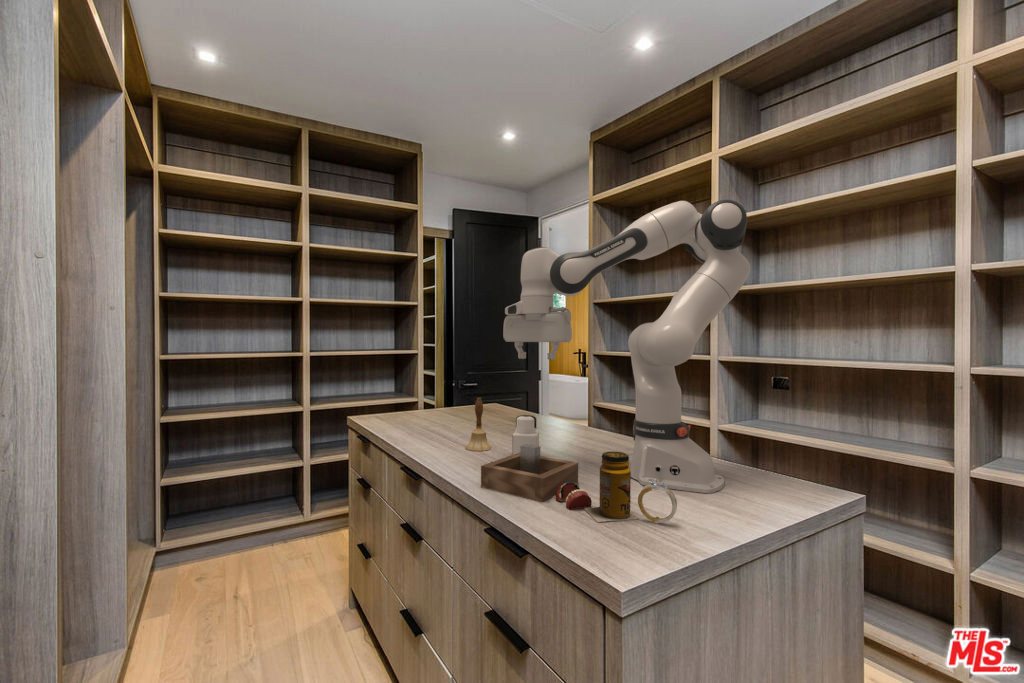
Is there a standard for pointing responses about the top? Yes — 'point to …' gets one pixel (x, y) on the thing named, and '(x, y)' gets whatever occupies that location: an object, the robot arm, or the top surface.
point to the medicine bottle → (525, 433)
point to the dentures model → (573, 496)
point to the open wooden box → (528, 477)
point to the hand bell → (478, 432)
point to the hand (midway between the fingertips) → (536, 359)
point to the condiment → (614, 489)
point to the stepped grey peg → (530, 458)
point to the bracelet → (657, 486)
